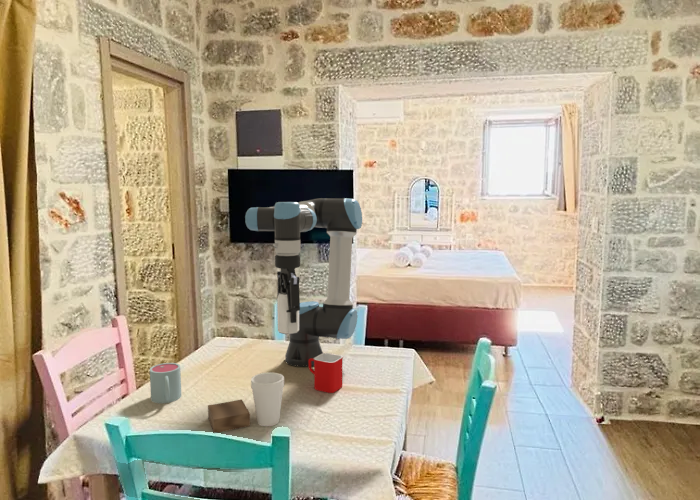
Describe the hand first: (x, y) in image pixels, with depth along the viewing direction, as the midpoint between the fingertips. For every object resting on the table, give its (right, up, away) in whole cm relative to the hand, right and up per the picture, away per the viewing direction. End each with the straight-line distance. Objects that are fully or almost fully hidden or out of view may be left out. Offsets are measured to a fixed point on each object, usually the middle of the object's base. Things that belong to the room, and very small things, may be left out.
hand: (288, 329), depth 148 cm
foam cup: (-5, -26, -5) cm, 27 cm away
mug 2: (+10, -23, +21) cm, 33 cm away
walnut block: (-17, -26, -6) cm, 31 cm away
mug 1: (-40, -24, +10) cm, 48 cm away
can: (0, -1, 0) cm, 1 cm away
